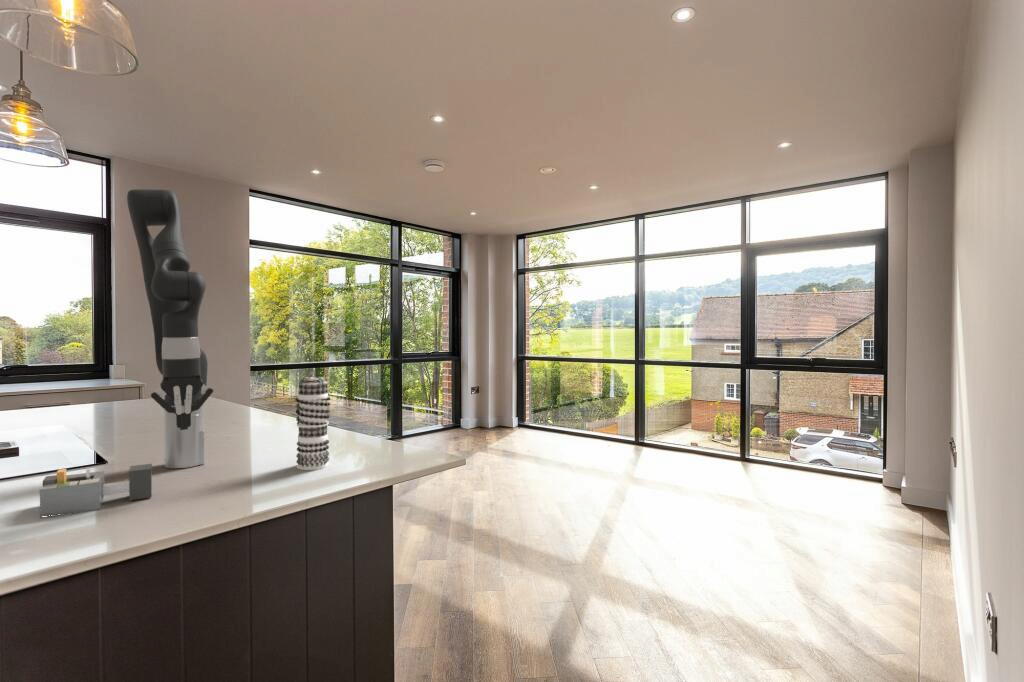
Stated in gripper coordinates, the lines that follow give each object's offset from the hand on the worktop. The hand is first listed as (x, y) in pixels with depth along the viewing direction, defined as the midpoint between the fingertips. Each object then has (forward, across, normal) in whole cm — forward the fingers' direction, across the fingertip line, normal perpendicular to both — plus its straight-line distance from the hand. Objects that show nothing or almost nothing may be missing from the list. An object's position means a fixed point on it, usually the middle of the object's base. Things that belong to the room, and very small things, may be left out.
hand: (183, 429), depth 121 cm
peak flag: (+13, +22, -1) cm, 26 cm away
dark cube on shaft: (+14, +12, 0) cm, 19 cm away
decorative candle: (+16, -31, -5) cm, 35 cm away
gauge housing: (+14, +20, 0) cm, 25 cm away
